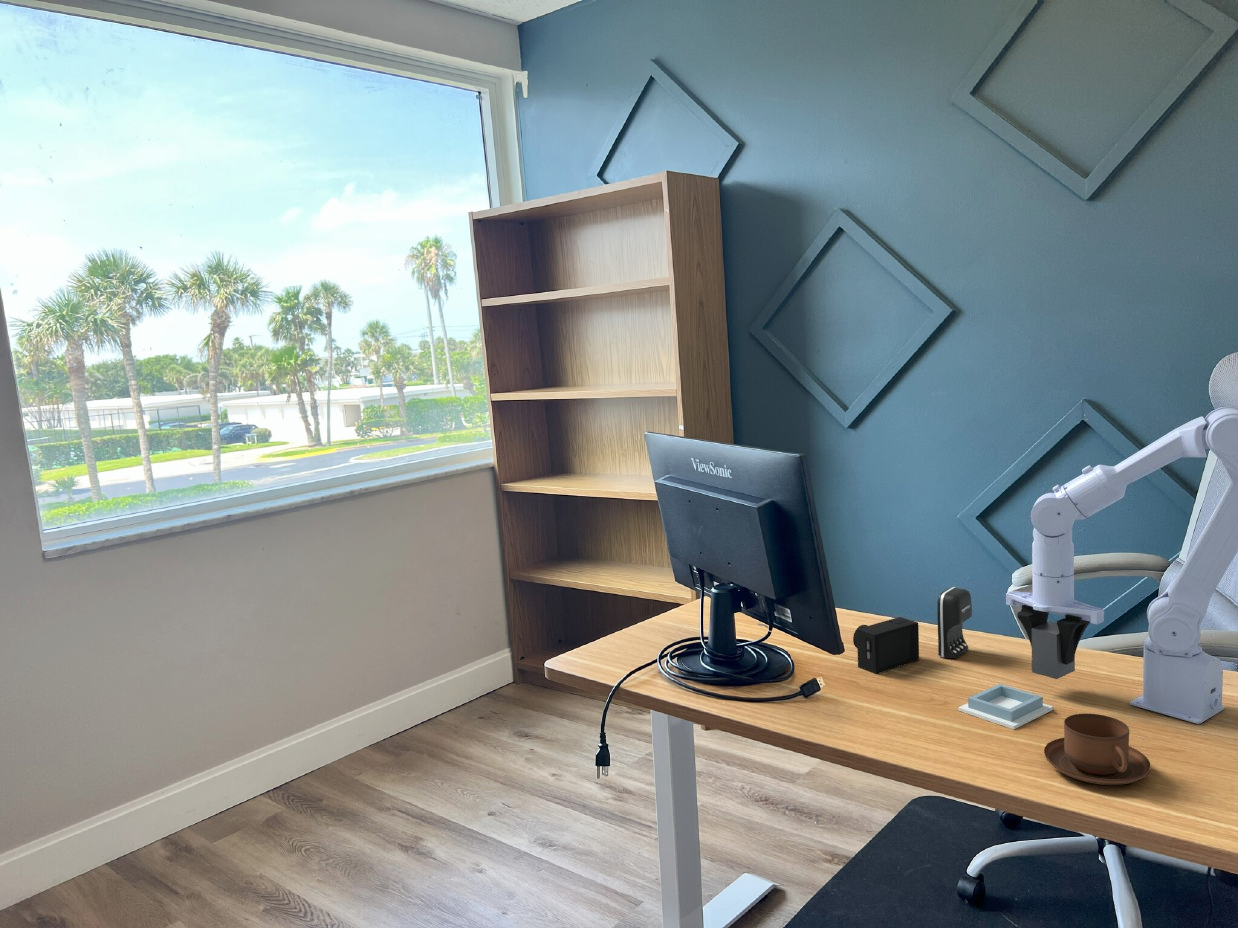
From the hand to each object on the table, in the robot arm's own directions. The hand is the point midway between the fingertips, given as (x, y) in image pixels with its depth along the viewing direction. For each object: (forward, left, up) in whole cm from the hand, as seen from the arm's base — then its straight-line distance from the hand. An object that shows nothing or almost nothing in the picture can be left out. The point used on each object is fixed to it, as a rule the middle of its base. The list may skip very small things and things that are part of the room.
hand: (1053, 658), depth 140 cm
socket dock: (+1, +11, -5) cm, 12 cm away
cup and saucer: (-17, +19, -6) cm, 26 cm away
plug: (0, 0, -2) cm, 2 cm away
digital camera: (+26, +8, -6) cm, 27 cm away
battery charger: (+20, -4, -6) cm, 21 cm away
